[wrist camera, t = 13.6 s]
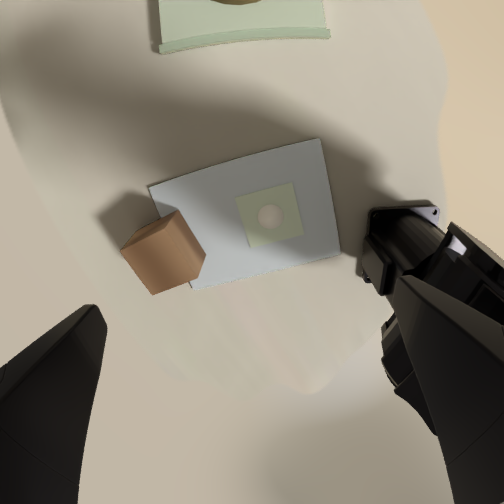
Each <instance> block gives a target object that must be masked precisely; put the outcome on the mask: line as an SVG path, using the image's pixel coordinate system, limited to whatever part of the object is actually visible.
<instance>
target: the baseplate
mask: <svg viewBox="0 0 504 504" xmlns="http://www.w3.org/2000/svg"><path fill="white" fill-rule="evenodd" d="M159 13H160V25H161V36H162V43H163V44H161V45H159V50H160V54H162V55H164V54H168V53H173V52H177V51H182V50H187V49H193V48H198V47H204V46H211V45H218V44H225V43H233V42H243V41H254V40H269V39H329V38H331V33H330V29H326V28H327V27H326V20H325V13H324V7H323V1H322V0H261V1H259V2H256V3H251V4H244V5H228V4H222V3H218V2H215V1H211V0H159Z"/></svg>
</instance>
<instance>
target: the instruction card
mask: <svg viewBox="0 0 504 504" xmlns="http://www.w3.org/2000/svg"><path fill="white" fill-rule="evenodd" d="M149 190H150V193H151V195H152V198H153V200H154V203H155V205H156V207H157V210H158V212H159V215H160V217H161V218H162V217H164V216H166V215H168V214H170V213H172V212H174V211H176V210H178V209H179V211H180V213H181V214H182V216H183V218H184V219H185V221H186V223H187V224H188V226H189V227H190V229H191V231H192V232H193V234H194V236H195V237H196V239H197V240H198V242H199V244H200V245H201V247H202V248H203V250H204V252H205V253H206V257H205V260H204V263H203V265H202V268H201V271H200V274H199V276H198V278H197V279H195V280H192V281H189V282H190V284H191V286H192V288H193V290H198V289H203V288H207V287H211V286H215V285H220V284H224V283H228V282H232V281H236V280H240V279H245V278H249V277H253V276H257V275H261V274H265V273H269V272H273V271H277V270H281V269H285V268H289V267H293V266H297V265H301V264H305V263H309V262H313V261H316V260H320V259H324V258H328V257H332V256H336V255H339V254H341V251H340V244H339V238H338V231H337V225H336V219H335V213H334V207H333V201H332V196H331V190H330V185H329V180H328V175H327V170H326V165H325V160H324V155H323V151H322V146H321V142H320V138H317V139H312V140H308V141H303V142H299V143H295V144H290V145H286V146H282V147H278V148H274V149H270V150H266V151H263V152H259V153H255V154H251V155H248V156H244V157H241V158H237V159H234V160H230V161H227V162H224V163H220V164H217V165H214V166H210V167H207V168H204V169H201V170H198V171H195V172H192V173H189V174H186V175H183V176H180V177H177V178H174V179H171V180H168V181H165V182H162V183H160V184H157V185H154V186H151V187H149Z"/></svg>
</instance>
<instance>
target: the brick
mask: <svg viewBox="0 0 504 504" xmlns="http://www.w3.org/2000/svg"><path fill="white" fill-rule="evenodd" d="M120 252H121V254H122V255H123V256H124V258H125V259H126V261H127V262H128V263H129V265H130V266H131V268H132V269H133V270H134V272H135V273H136V274H137V276H138V277H139V279H140V280H141V281H142V283H143V284H144V285H145V287H146V288H147V289H148V290H149V292H150V293H151V294H152V295H155V294H157V293H160V292H163V291H165V290H168V289H171V288H173V287H176V286H179V285H181V284H184V283H187V282H189V281H192V280H195V279H197V278H198V276H199V274H200V271H201V268H202V265H203V263H204V260H205V257H206V253H205V252H204V250H203V248H202V247H201V245H200V244H199V242H198V240H197V239H196V237H195V236H194V234H193V232H192V231H191V229H190V227H189V226H188V224H187V223H186V221H185V219H184V218H183V216H182V214H181V213H180V211H179V209H178V210H176V211H174V212H172V213H170V214H168V215H166V216H164V217H162V218H160V219H158V220H157V221H155V222H153V223H151V224H149V225H147V226H145V227H143V228H141V229H140V230H138V231H136V232H135V234H134V235H133V236H132V237H131V238H130V239H129V241H128V242H127V243H126V244H125V246H124V247H123V248H122V249H121V250H120Z"/></svg>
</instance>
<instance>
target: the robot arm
mask: <svg viewBox="0 0 504 504" xmlns="http://www.w3.org/2000/svg"><path fill="white" fill-rule="evenodd" d="M434 210H435V211H434ZM433 211H434V213H433ZM439 212H440V210H439V208H438V207H437V206H435V205H418V206H398V207H381V208H372V209H371V210H370V211H369V214H368V226H367V235H366V236H365V237H364V243H363V254H362V264H361V265H362V267H363V280H364V281H365V283H372V284H373V285H374V287H375V289H376V291H377V292H378V294H379V295H380V296H386V298H387V299H388V301H389V303H390V305H391V306H392V308H393V310H394V313H393V315H392V316H391V317H390V319H389V320H388V321H386V322H385V323H384V324H383V326H382V327H381V330H382V342H381V343H382V348H383V355H384V356H383V357H382V358H381V361H382V365H383V367H384V369H385V372H386V374H387V377H388V378H389V380H390V381H391V383H392V384H393V385H394V386H395V389H394V392H395V394H397V395H398V396H400V397H401V398H403V399H404V400H405V401H407V402H408V403H409V404H410V405H411V406H412V407H413V408H414V409H415V410H416V411H417V412H418V413H419V415H420V416H421V417H422V418H423V420H424V421H425V423H426V424H427V426H428V427H429V429H430V430H431V432H432V433H433V434H434V435H436V436H438V439H439V442H440V446H441V449H442V453H443V456H444V461H445V464H446V468H447V473H448V477H449V481H450V485H451V489H452V494H453V499H454V503H455V504H504V260H502V259H501V258H500V257H499V256H498V255H497V254H496V253H494V252H493V251H492V250H491V249H490V248H488V247H487V246H486V245H485V244H483V243H482V242H481V241H479V240H478V239H476V238H475V237H473V236H472V235H470V234H469V233H468V232H466V231H465V230H463V229H462V228H461V227H459V226H458V225H456V224H454V223H453V222H450V224H449V226H448V228H447V229H448V231H447V233H446V234H445V233H444V232H443V231H442V230H441V229H440V228H438V227H437V225H438V219H439ZM375 213H377V216H376V217H373V215H374V214H375ZM367 277H369V278H367ZM106 336H107V324H106V322H105V320H104V318H103V316H102V314H101V312H100V310H99V308H98V306H96V305H94V304H87V305H83V306H82V307H81V308H79V309H78V310H77V311H75V312H74V313H72V314H71V315H69V316H68V317H67V318H65V319H64V320H62V321H61V322H60V323H58V324H57V325H56V326H54V327H53V328H52V329H50V330H49V331H48V332H46V333H45V334H44V335H42V336H41V337H40V338H38V339H37V340H36V341H34V342H33V343H32V344H30V345H29V346H28V347H26V348H25V349H24V350H23V351H21V352H20V353H19V354H17V355H16V356H15V357H14V358H12V359H11V360H10V361H9V362H8V363H7V364H5V365H3V366H2V367H1V368H0V504H77V503H78V492H79V481H80V474H81V466H82V459H83V453H84V446H85V441H86V435H87V430H88V425H89V420H90V415H91V410H92V405H93V401H94V396H95V392H96V388H97V384H98V380H99V376H100V371H101V365H102V359H103V353H104V347H105V341H106Z"/></svg>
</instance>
